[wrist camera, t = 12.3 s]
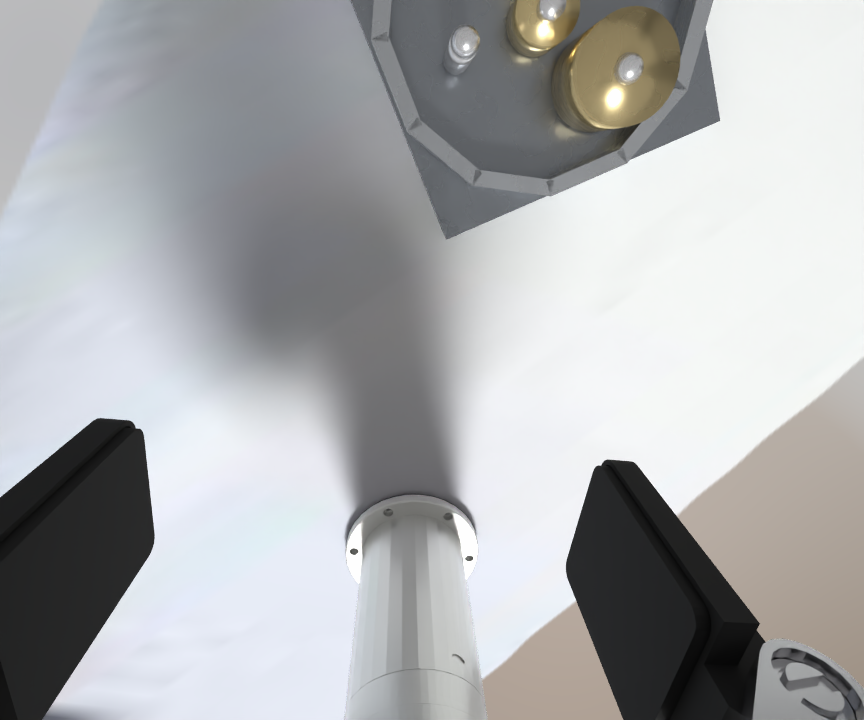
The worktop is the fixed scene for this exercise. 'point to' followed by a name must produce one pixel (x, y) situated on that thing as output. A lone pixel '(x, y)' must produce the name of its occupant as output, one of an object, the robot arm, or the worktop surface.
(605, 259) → the worktop surface
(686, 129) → the carrier
